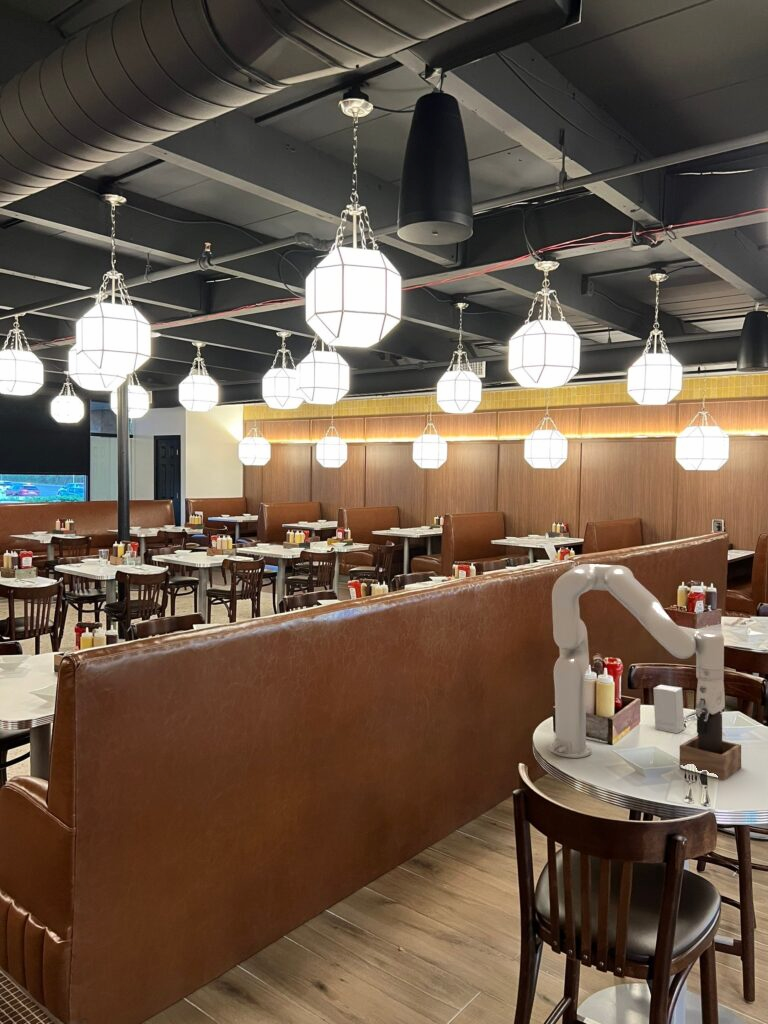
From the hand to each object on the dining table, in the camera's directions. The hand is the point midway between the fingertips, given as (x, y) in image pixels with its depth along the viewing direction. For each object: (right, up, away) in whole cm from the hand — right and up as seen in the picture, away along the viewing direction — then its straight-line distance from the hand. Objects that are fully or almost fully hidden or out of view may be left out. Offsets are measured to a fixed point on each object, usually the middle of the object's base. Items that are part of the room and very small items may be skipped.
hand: (709, 729), depth 224 cm
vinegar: (0, -11, +1) cm, 11 cm away
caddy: (0, -12, 0) cm, 12 cm away
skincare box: (+2, -11, +36) cm, 38 cm away
